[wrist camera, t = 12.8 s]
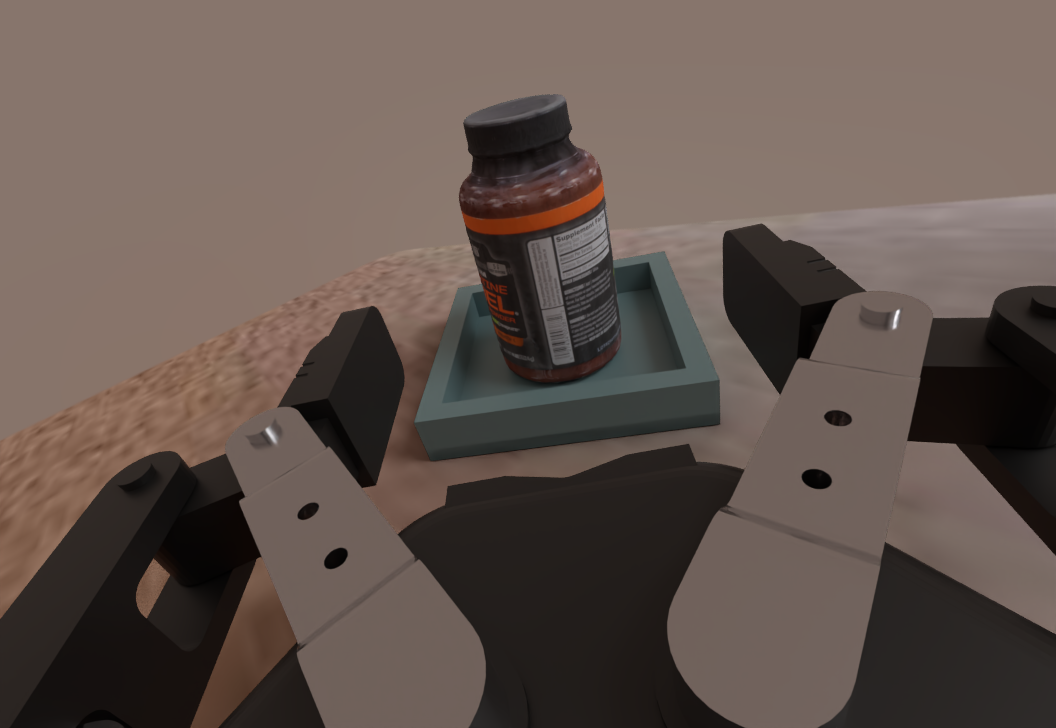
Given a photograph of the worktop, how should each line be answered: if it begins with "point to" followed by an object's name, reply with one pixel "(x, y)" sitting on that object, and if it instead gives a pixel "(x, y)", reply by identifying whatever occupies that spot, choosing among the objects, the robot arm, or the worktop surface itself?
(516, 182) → the supplement bottle
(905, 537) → the worktop surface
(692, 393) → the tray
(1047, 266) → the worktop surface
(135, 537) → the robot arm
